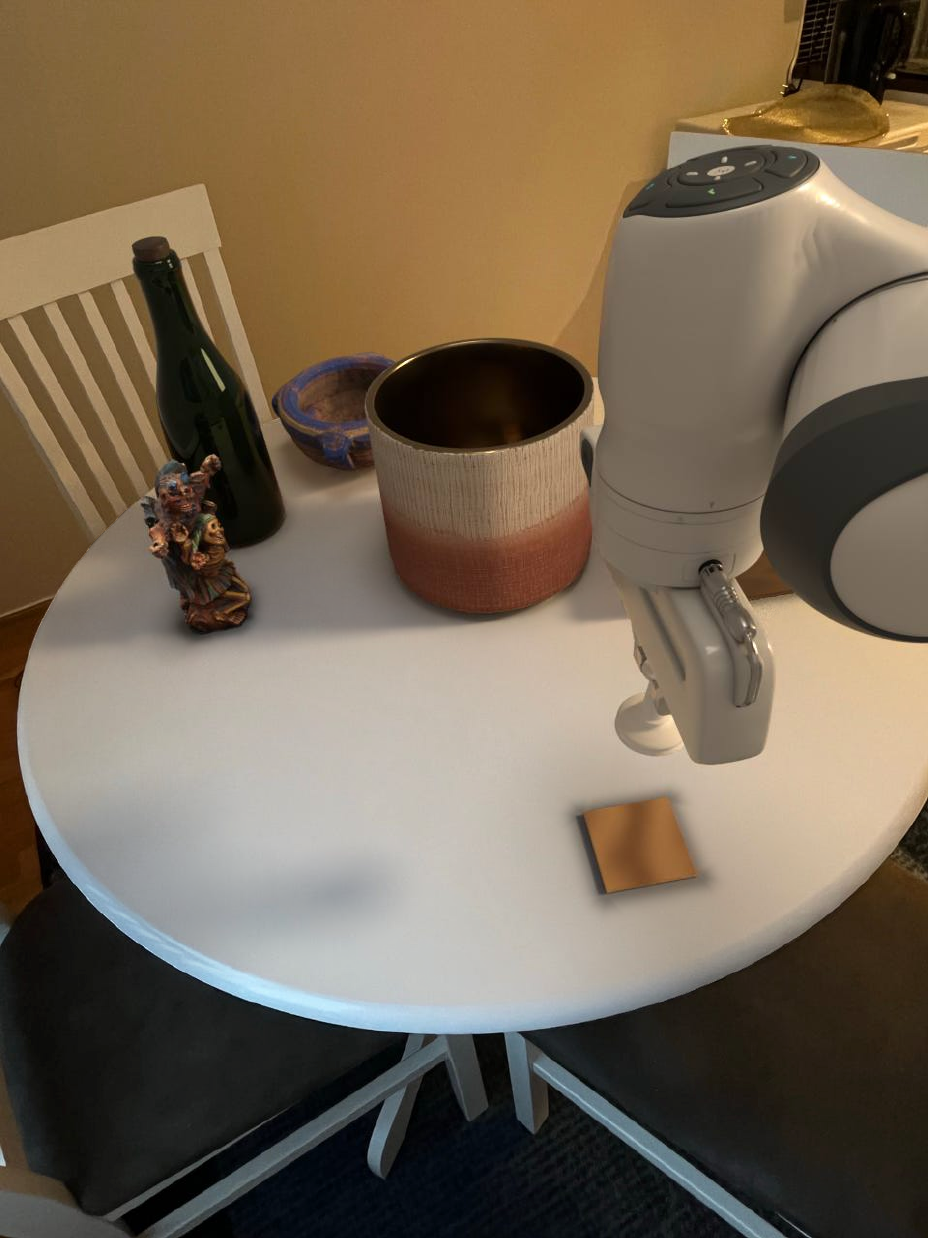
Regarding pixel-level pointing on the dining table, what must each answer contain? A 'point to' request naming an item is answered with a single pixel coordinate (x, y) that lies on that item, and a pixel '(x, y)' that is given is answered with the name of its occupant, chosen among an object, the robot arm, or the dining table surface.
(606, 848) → the coaster
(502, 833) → the dining table surface
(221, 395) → the green wine bottle
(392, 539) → the planter
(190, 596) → the figurine
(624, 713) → the chess piece
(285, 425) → the bowl
